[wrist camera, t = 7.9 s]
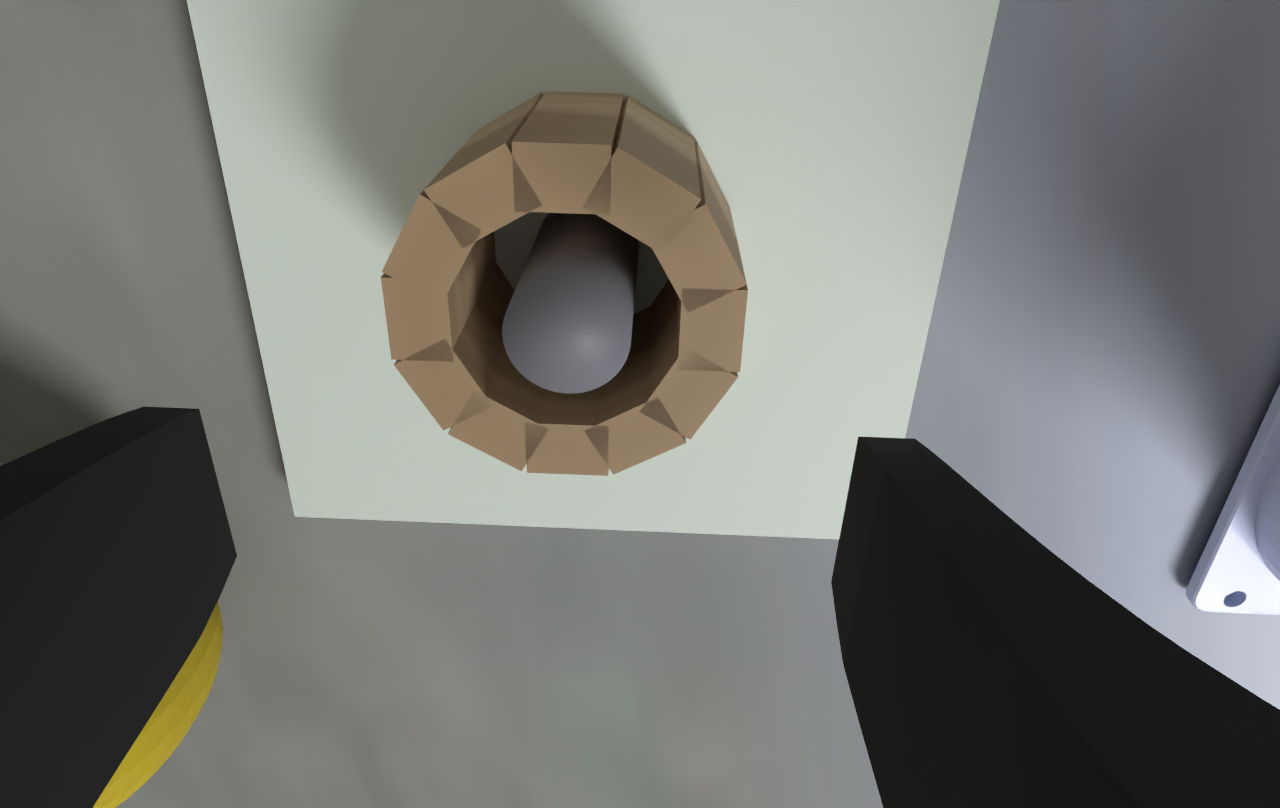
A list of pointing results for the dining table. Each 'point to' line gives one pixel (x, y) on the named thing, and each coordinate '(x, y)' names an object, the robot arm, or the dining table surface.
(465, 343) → the bead
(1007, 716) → the robot arm
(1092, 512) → the dining table surface
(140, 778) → the lemon
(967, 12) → the white board with peg
